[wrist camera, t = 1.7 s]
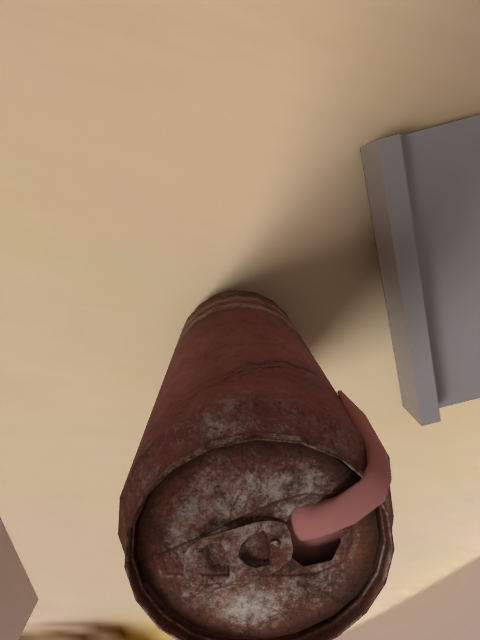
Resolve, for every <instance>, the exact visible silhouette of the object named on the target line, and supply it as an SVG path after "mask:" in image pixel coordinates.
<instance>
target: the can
mask: <svg viewBox="0 0 480 640" xmlns="http://www.w3.org/2000/svg"><path fill="white" fill-rule="evenodd" d="M390 483H391V470H390V458H389V456H388V454H387V452H386V451H385V449H384V447H383V445H382V444H381V442H380V440H379V438H378V436H377V435H376V433H375V431H374V429H373V428H372V426H371V424H370V422H369V421H368V419H367V417H366V415H365V414H364V413H363V412H362V411H361V410H360V409H359V408H358V407H357V406H356V405H355V404H354V403H353V402H352V401H351V400H350V399H349V398H348V397H347V396H346V395H345V394H344V393H343V392H342V391H338V395H337V393H336V392H335V390H334V388H333V387H332V385H331V384H330V382H329V381H328V379H327V377H326V376H325V374H324V373H323V371H322V370H321V368H320V366H319V365H318V363H317V362H316V360H315V359H314V357H313V355H312V354H311V352H310V351H309V349H308V348H307V346H306V344H305V343H304V341H303V340H302V338H301V337H300V335H299V334H298V332H297V330H296V329H295V327H294V326H293V324H292V323H291V321H290V319H289V318H288V316H287V315H286V313H285V312H284V311H283V310H282V309H281V308H280V307H278V306H277V305H276V304H275V303H274V302H273V301H272V300H270V299H268V298H265V297H263V296H261V295H259V294H256V293H252V292H243V291H232V292H227V293H222V294H217V295H215V296H214V297H212V298H210V299H208V300H206V301H205V302H203V303H201V304H200V305H199V306H198V307H197V308H196V309H195V310H194V312H193V313H192V314H191V315H190V316H189V317H188V319H187V321H186V323H185V326H184V328H183V330H182V332H181V335H180V337H179V340H178V343H177V346H176V348H175V351H174V354H173V356H172V359H171V362H170V364H169V367H168V370H167V372H166V375H165V378H164V380H163V383H162V386H161V388H160V391H159V394H158V396H157V399H156V402H155V405H154V407H153V410H152V413H151V415H150V418H149V421H148V423H147V426H146V429H145V431H144V434H143V437H142V439H141V442H140V445H139V447H138V450H137V453H136V456H135V458H134V461H133V464H132V466H131V469H130V472H129V474H128V477H127V480H126V482H125V485H124V488H123V490H122V493H121V496H120V507H119V528H118V536H119V539H120V541H121V544H122V547H123V550H124V553H125V570H126V573H127V576H128V579H129V582H130V585H131V588H132V591H133V594H134V597H135V599H136V601H137V602H138V604H139V605H140V606H141V607H142V609H143V610H144V611H145V612H146V613H147V615H148V616H149V617H150V618H151V620H152V621H153V622H154V623H155V624H156V626H157V627H158V628H159V629H161V630H162V631H164V632H165V633H167V634H169V635H170V636H172V637H173V638H175V639H176V640H332V639H334V638H336V637H338V636H339V635H341V634H342V633H343V632H344V631H345V630H347V629H348V628H349V627H350V626H351V625H353V624H354V623H355V622H356V621H357V620H359V619H360V618H361V617H362V616H363V615H364V614H366V613H367V611H368V610H369V608H370V607H371V605H372V603H373V602H374V600H375V599H376V597H377V596H378V594H379V593H380V591H381V590H382V588H383V587H384V585H385V584H386V580H387V576H388V572H389V568H390V564H391V560H392V556H393V552H394V543H393V536H392V525H393V517H394V516H393V508H392V500H391V492H390Z"/></svg>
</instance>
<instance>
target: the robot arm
mask: <svg viewBox="0 0 480 640" xmlns="http://www.w3.org/2000/svg"><path fill="white" fill-rule="evenodd" d="M37 601H38V597H37V595H36V593H35V591H34V589H33V586H32V584H31V582H30V580H29V578H28V576H27V574H26V572H25V569H24V567H23V565H22V563H21V561H20V559H19V557H18V554H17V552H16V550H15V548H14V546H13V544H12V542H11V539H10V537H9V535H8V533H7V531H6V529H5V527H4V524H3V522H2V520H1V518H0V640H18V639H19V637H20V635H21V633H22V631H23V629H24V627H25V625H26V623H27V621H28V619H29V617H30V615H31V613H32V611H33V609H34V607H35V605H36V603H37Z"/></svg>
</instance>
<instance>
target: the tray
mask: <svg viewBox="0 0 480 640" xmlns="http://www.w3.org/2000/svg"><path fill="white" fill-rule="evenodd" d="M360 150H361V156H362V162H363V168H364V174H365V180H366V186H367V192H368V198H369V204H370V210H371V216H372V222H373V228H374V234H375V240H376V246H377V252H378V258H379V264H380V270H381V276H382V282H383V288H384V294H385V300H386V306H387V312H388V318H389V324H390V330H391V336H392V342H393V348H394V354H395V360H396V366H397V372H398V378H399V384H400V390H401V396H402V402H403V407H404V408H405V409H406V410H407V411H408V412H409V413H410V414H411V415H412V416H413V417H414V418H415V420H416V421H417V422H418V423H419V424H420V425H421V426H424V425H428V424H432V423H436V422H440V421H441V419H440V412H439V408H441V407H445V406H449V405H453V404H457V403H461V402H465V401H469V400H473V399H477V398H480V115H476V116H472V117H469V118H465V119H461V120H457V121H454V122H450V123H446V124H442V125H439V126H435V127H431V128H427V129H424V130H420V131H416V132H412V133H409V134H405V135H401V136H400V134H396V135H392V136H389V137H385V138H381V139H377V140H375V141H373V142H371V143H369V144H367V145H365V146H363V147H361V148H360Z"/></svg>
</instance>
